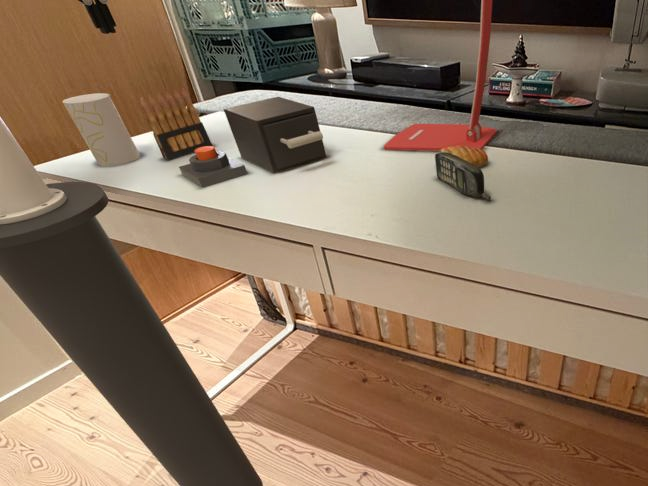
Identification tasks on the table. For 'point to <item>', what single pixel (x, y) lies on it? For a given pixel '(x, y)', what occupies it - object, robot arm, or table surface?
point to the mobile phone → (460, 174)
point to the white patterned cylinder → (102, 128)
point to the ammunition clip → (176, 126)
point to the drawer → (294, 140)
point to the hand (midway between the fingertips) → (108, 32)
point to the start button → (206, 153)
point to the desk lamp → (455, 133)
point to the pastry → (468, 154)
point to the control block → (212, 169)
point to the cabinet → (251, 133)
